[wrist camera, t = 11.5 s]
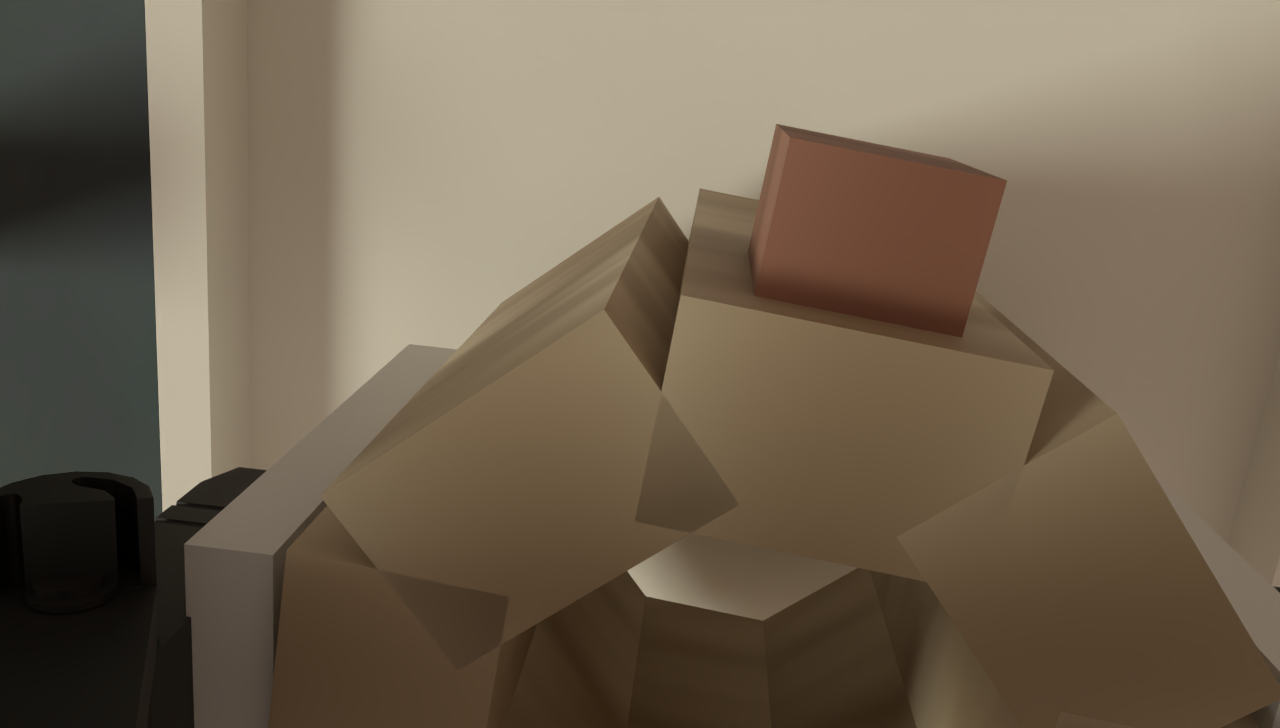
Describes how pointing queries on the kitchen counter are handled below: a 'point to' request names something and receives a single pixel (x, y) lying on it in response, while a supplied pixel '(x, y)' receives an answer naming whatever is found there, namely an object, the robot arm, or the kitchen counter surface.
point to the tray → (722, 162)
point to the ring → (762, 494)
